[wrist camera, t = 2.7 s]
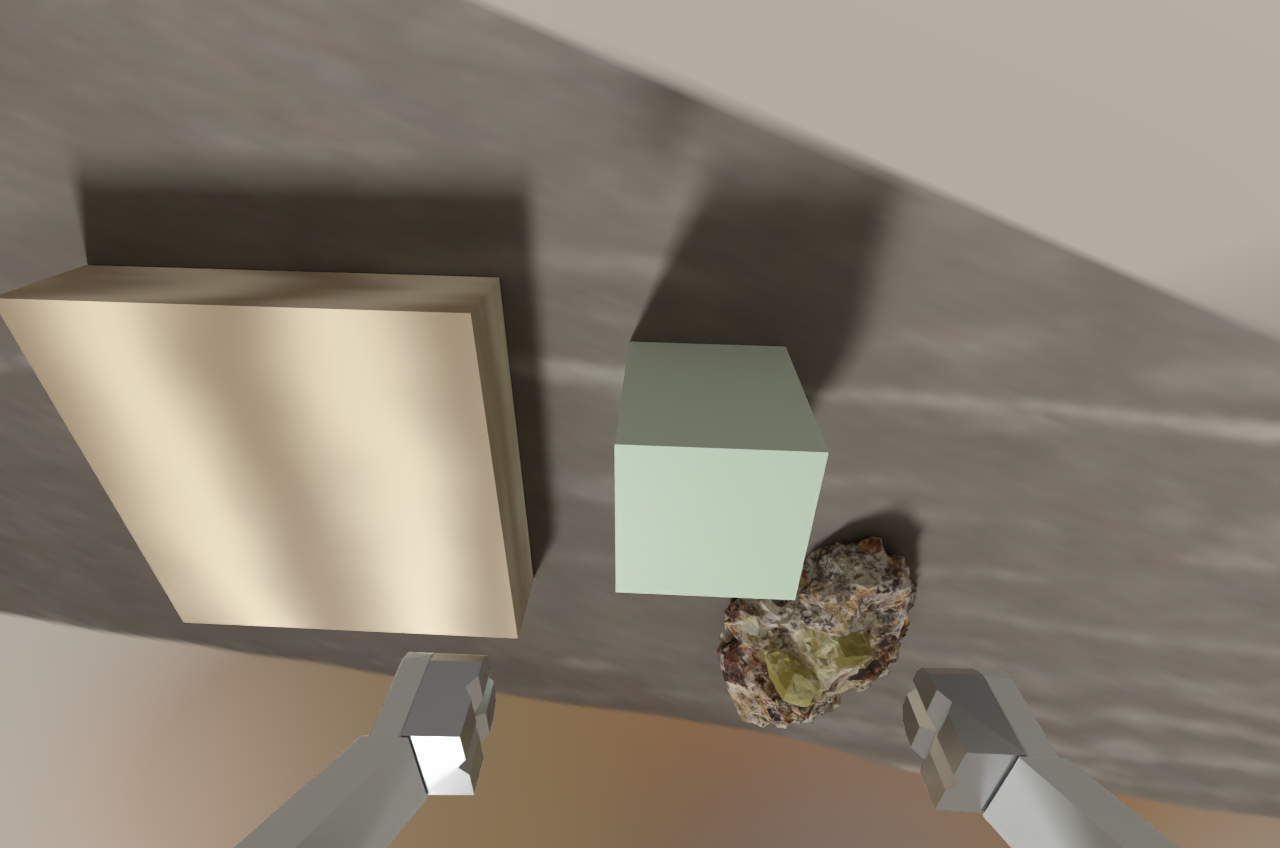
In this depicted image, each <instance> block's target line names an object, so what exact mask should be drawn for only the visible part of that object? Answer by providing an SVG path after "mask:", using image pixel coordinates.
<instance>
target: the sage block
mask: <svg viewBox="0 0 1280 848" xmlns="http://www.w3.org/2000/svg"><path fill="white" fill-rule="evenodd" d="M828 453H829V452H828V450H827V447H826V445H825V442H824V440H823V437H822V435H821V432H820V430H819V427H818V425H817V423H816V420H815V418H814V415H813V413H812V410H811V408H810V405H809V403H808V400H807V398H806V395H805V393H804V391H803V388H802V386H801V383H800V381H799V378H798V376H797V373H796V371H795V368H794V366H793V363H792V361H791V359H790V356H789V354H788V351H787V349H786V347H781V346H751V345H720V344H690V343H659V342H629V349H628V356H627V363H626V370H625V376H624V383H623V390H622V397H621V404H620V410H619V417H618V424H617V431H616V438H615V553H616V592H622V593H644V594H666V595H688V596H710V597H732V598H754V599H776V600H795V598H796V594H797V590H798V585H799V581H800V576H801V572H802V568H803V563H804V559H805V554H806V550H807V546H808V541H809V537H810V532H811V528H812V524H813V519H814V515H815V510H816V506H817V502H818V497H819V493H820V488H821V484H822V479H823V475H824V471H825V466H826V462H827V457H828Z"/></svg>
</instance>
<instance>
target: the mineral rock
mask: <svg viewBox="0 0 1280 848" xmlns="http://www.w3.org/2000/svg"><path fill="white" fill-rule="evenodd" d="M914 592H916V589H915V586H914V584H912V583H911V579H910V570H909V567H908V566H907V565H906V564H905V557H901V556H897V555H896V554H891V555H887V554H886V552H885V549H884V546H883V543H882V539H881V538H877V537H873V536H869V537H867V538H865V539H863V540H861V541H860V542H858V543H856V544H854V543H852V544H848V545H843V544H840V543H839V542H835V543H833V544H830V545H827V546H825V547H822V548H819V549H817V551H814V552H811V553H810V554H809V555H808V556H807V557H806V558H805V559H804V563H803V568H802V572H801V576H800V581H799V585H798V590H797V594H796V598H795V600H776V599H754V598H737V599H736V600H735V601H734V602H732V603H730V605H729V607H728V608H727V610H726V612H725V613H724V614H725V617H726V618H725V619H726V621H724V622H725V631H723V632H722V633H721V636H720V640H719V642H718V643H719V646H718V649H717V653H718V658H719V662H720V666H721V669H722V673H723V677H724V680H725V681H726V682H727V688H728V691H729V693H730V695H731V697H732V700H733V702H734V705H735V706H736V708H737V711H738V713H739V716H740V717H741V718H742V719H743V721H746V722H749V723H754V724H757V725H759V726H760V727H761V728H763V727H765V726H766V725H768V724H769V723H771V724H773V725H774V726H776V727H779V728H784V729H788V725H790V724H793V723H799V724H801V723H805V722H809V723H813V722H814V718H815V717H817V716H821V715H823V714H825V713H827V712H832V710H833V709H835V708H836V707H838V706H839V705H840V697H841V695H842V694H843V692H845V691H846V690H848V689H849V688H855V689H856V690H857V692H860V691H863V690H865V689H867V688H868V687H870V686H871V684H870V683H869V682H874V681H875V680H876V679H877V678H878V677H881V676H884V675H887V674H889V666H891V664H892V663H893V662H896V660H897V659H898V655H899V651H898V648H899V647H900V644H901V643H900V642H898V641H899V640H901V639H902V638H903V637H904V636H906V634H905V633H906V632H907V631H908V629H907V627H908V626H909V625H910V620H909V618H908V608H909V607H912V606H914V605H913V603H912V601H913V600H914V599H915V594H914Z"/></svg>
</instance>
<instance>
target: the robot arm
mask: <svg viewBox="0 0 1280 848" xmlns="http://www.w3.org/2000/svg"><path fill="white" fill-rule="evenodd" d="M490 670H491V663H490V659H489V656H483V655H463V654H442V653H422V652H408V653H407V654H406V656H405V657H404V658H403V659H402V661H401V663H400V665H399V668H398V670H397V672H396V674H395V677H394V679H393V682H392V684H391V686H390V688H389V691H388V693H387V695H386V698H385V700H384V702H383V704H382V707H381V709H380V712H379V714H378V716H377V718H376V721H375V723H374V725H373V728H372V730H371V732H370V734H369V736H360V737H359V738H358V739H357V740H356V741H354V742H353V743H352V744H351V745H350V746H349V747H348V748H347V749H345V750H344V751H343V752H342V753H341V754H340V755H339V756H338V757H336V758H335V759H334V760H333V761H332V762H331V763H329V764H328V765H327V766H326V767H325V768H324V769H323V770H322V771H320V772H319V773H318V774H317V775H316V776H315V777H314V778H313V779H311V780H310V781H309V782H308V783H307V784H306V785H305V786H304V787H302V788H301V789H300V790H299V791H298V792H297V793H296V794H294V795H293V796H292V797H291V798H290V799H289V800H288V801H287V802H285V803H284V804H283V805H282V806H281V807H280V808H279V809H277V810H276V811H275V812H274V813H273V814H272V815H271V816H269V817H268V818H267V819H266V820H265V821H264V822H263V823H262V824H261V825H259V826H258V827H257V828H256V829H255V830H254V831H252V832H251V833H250V834H249V835H248V836H247V837H246V838H245V839H244V840H242V841H241V842H240V843H239V844H238V845H237V846H236V847H235V848H387V847H388V845H389V844H390V843H391V841H393V839H394V838H395V837H396V836H397V834H398V833H399V832H400V831H401V830H402V828H403V827H404V826H405V825H406V824H407V822H408V821H409V820H410V819H411V817H412V816H413V815H414V814H415V812H416V811H417V810H418V809H419V808H420V806H421V805H422V804H423V803H424V801H425V800H426V799H427V795H474V794H475V789H476V786H477V782H478V778H479V774H480V770H481V766H482V762H483V758H484V757H483V752H482V747H481V742H482V741H483V740H484V739H485V738H486V737H487V736H488V735H489V734H490V730H491V726H492V721H493V715H494V708H495V685H494V681H492V680H491V679H490V678H489V674H490ZM913 681H914V683H915V686H916V689H915V690H913V691H911V692H910V693H908V694H907V695H906V698H905V701H904V704H903V723H904V728H905V732H906V735H907V738H908V741H909V743H910V746H911V748H912V749H913V750H915V751H916V752H917V753H918V754H919V755H920V756H921V757H922V758H923V759H924V761H923V764H922V767H921V770H920V773H921V775H922V777H923V780H924V783H925V785H926V788H927V791H928V793H929V796H930V798H931V801H932V803H933V806H934V809H935V810H944V811H962V812H977V813H984V814H983V817H984V818H985V819H986V820H987V821H988V822H989V823H990V824H991V826H992V827H993V828H994V829H995V830H996V831H997V832H998V833H999V834H1000V836H1001V837H1002V838H1003V839H1004V840H1005V841H1006V842H1007V843H1008V844H1009V846H1010V847H1011V848H1179V847H1178V846H1176V845H1175V844H1174V843H1173V842H1172V841H1170V840H1169V839H1168V838H1166V837H1165V836H1164V835H1163V834H1162V833H1160V832H1159V831H1158V830H1157V829H1155V828H1154V827H1153V826H1152V825H1150V824H1149V823H1148V822H1147V821H1145V820H1144V819H1143V818H1141V817H1140V816H1139V815H1138V814H1136V813H1135V812H1134V811H1133V810H1131V809H1130V808H1129V807H1128V806H1126V805H1125V804H1124V803H1123V802H1121V801H1120V800H1119V799H1118V798H1117V797H1115V796H1114V795H1113V794H1112V793H1110V792H1109V791H1108V790H1107V789H1105V788H1104V787H1103V786H1102V785H1100V784H1099V783H1098V782H1097V781H1095V780H1094V779H1093V778H1092V777H1090V776H1089V775H1088V774H1087V773H1085V772H1084V771H1083V770H1082V769H1080V768H1079V767H1078V766H1077V765H1075V764H1074V763H1073V762H1072V761H1070V760H1069V759H1068V758H1059V757H1058V755H1057V753H1056V752H1055V750H1054V748H1053V747H1052V745H1051V743H1050V742H1049V740H1048V738H1047V737H1046V735H1045V733H1044V732H1043V730H1042V728H1041V727H1040V725H1039V723H1038V722H1037V720H1036V718H1035V717H1034V715H1033V713H1032V712H1031V710H1030V708H1029V707H1028V705H1027V703H1026V702H1025V700H1024V698H1023V697H1022V695H1021V693H1020V692H1019V690H1018V688H1017V687H1016V685H1015V683H1014V682H1013V680H1012V678H1011V677H1010V676H1009V675H1008V674H1007V673H1006V672H1005V671H1001V670H973V669H953V668H921V669H920V670H918V671H917V672H916V674H915V676H914V679H913Z"/></svg>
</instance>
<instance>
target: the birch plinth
mask: <svg viewBox="0 0 1280 848" xmlns="http://www.w3.org/2000/svg"><path fill="white" fill-rule="evenodd" d="M0 314H1V316H2V318H3V319H4V321H5V323H6V325H7V326H8V328H9V330H10V331H11V333H12V335H13V336H14V338H15V340H16V341H17V343H18V345H19V346H20V348H21V350H22V351H23V353H24V355H25V356H26V358H27V360H28V362H29V363H30V365H31V367H32V368H33V370H34V372H35V373H36V375H37V377H38V378H39V380H40V382H41V383H42V385H43V387H44V388H45V390H46V392H47V393H48V395H49V397H50V399H51V400H52V402H53V404H54V405H55V407H56V409H57V410H58V412H59V414H60V415H61V417H62V419H63V420H64V422H65V424H66V425H67V427H68V429H69V430H70V432H71V434H72V436H73V437H74V439H75V441H76V442H77V444H78V446H79V447H80V449H81V451H82V452H83V454H84V456H85V457H86V459H87V461H88V462H89V464H90V466H91V467H92V469H93V471H94V472H95V474H96V476H97V478H98V479H99V481H100V483H101V484H102V486H103V488H104V489H105V491H106V493H107V494H108V496H109V498H110V499H111V501H112V503H113V504H114V506H115V508H116V509H117V511H118V513H119V515H120V516H121V518H122V520H123V521H124V523H125V525H126V526H127V528H128V530H129V531H130V533H131V535H132V536H133V538H134V540H135V541H136V543H137V545H138V546H139V548H140V550H141V552H142V553H143V555H144V557H145V558H146V560H147V562H148V563H149V565H150V567H151V568H152V570H153V572H154V573H155V575H156V577H157V578H158V580H159V582H160V583H161V585H162V587H163V589H164V590H165V592H166V594H167V595H168V597H169V599H170V600H171V602H172V604H173V605H174V607H175V609H176V610H177V612H178V614H179V615H180V617H181V619H182V620H183V622H186V623H207V624H227V625H248V626H269V627H290V628H310V629H331V630H352V631H373V632H394V633H414V634H435V635H456V636H477V637H497V638H518V636H519V632H520V628H521V624H522V621H523V617H524V613H525V609H526V606H527V602H528V598H529V594H530V590H531V587H532V583H533V570H532V561H531V552H530V543H529V535H528V526H527V517H526V508H525V500H524V491H523V482H522V473H521V464H520V456H519V447H518V438H517V429H516V421H515V412H514V403H513V394H512V385H511V377H510V368H509V359H508V350H507V342H506V333H505V324H504V315H503V306H502V298H501V289H500V280H499V277H468V276H434V275H401V274H367V273H333V272H300V271H266V270H233V269H199V268H165V267H132V266H98V265H85V266H82V267H79V268H76V269H74V270H71V271H68V272H65V273H62V274H59V275H56V276H53V277H50V278H48V279H45V280H42V281H39V282H36V283H33V284H30V285H27V286H24V287H22V288H19V289H16V290H13V291H10V292H7V293H4V294H1V295H0Z"/></svg>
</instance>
